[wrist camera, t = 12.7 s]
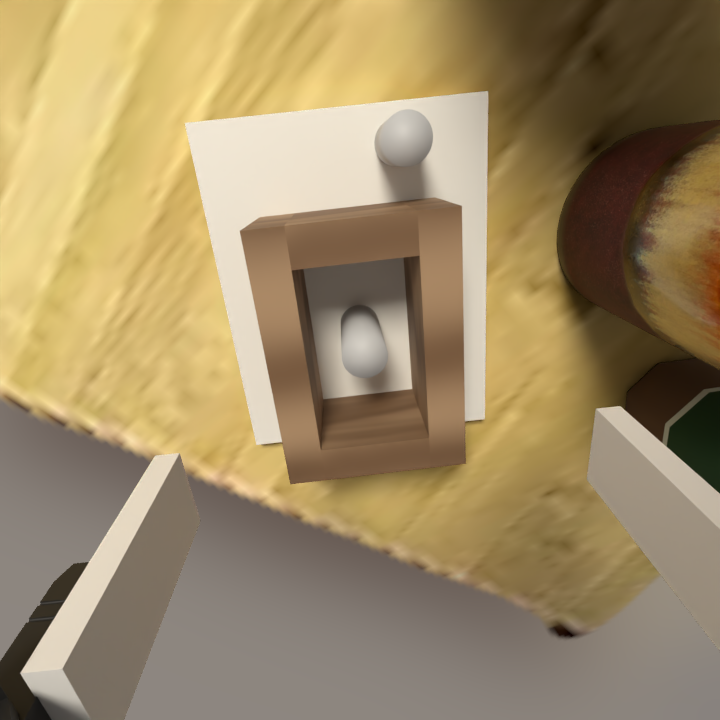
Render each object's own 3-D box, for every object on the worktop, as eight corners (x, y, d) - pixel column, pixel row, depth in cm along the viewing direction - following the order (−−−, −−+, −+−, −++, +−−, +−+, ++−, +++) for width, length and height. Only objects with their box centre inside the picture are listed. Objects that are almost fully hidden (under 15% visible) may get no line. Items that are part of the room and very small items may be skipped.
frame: (259, 217, 26) (239, 230, 20) (434, 197, 26) (461, 205, 20) (298, 428, 31) (290, 484, 26) (442, 411, 31) (465, 463, 26)
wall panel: (190, 124, 25) (144, 111, 19) (482, 93, 25) (529, 70, 19) (258, 437, 33) (241, 497, 27) (480, 411, 33) (513, 466, 27)
